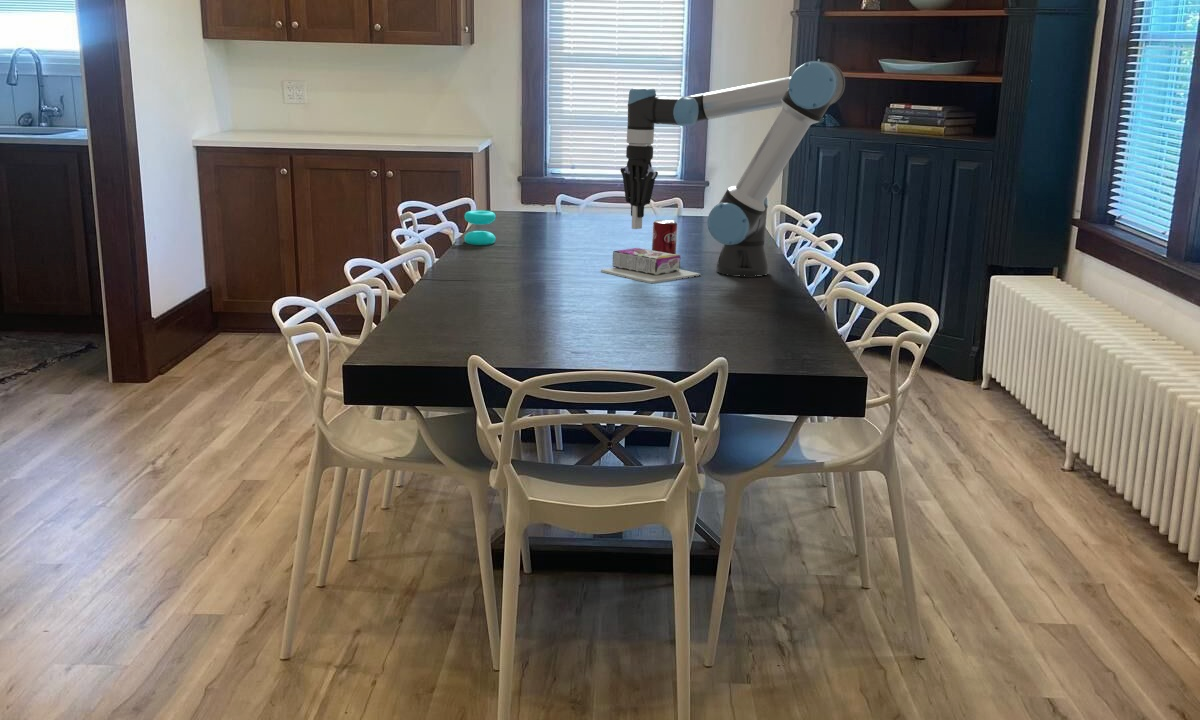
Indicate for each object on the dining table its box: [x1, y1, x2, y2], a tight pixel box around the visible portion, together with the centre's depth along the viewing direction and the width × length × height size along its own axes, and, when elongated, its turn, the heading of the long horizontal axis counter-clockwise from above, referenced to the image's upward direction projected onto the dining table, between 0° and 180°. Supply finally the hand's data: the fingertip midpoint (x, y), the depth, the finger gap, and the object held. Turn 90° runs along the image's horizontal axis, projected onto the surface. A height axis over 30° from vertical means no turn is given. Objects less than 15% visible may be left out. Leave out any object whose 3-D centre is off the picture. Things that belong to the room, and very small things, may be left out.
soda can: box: [651, 219, 678, 255], centre depth 338 cm, size 7×7×12 cm
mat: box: [600, 267, 702, 284], centre depth 319 cm, size 20×20×1 cm
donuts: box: [464, 210, 497, 246], centre depth 359 cm, size 10×10×10 cm
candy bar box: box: [612, 247, 681, 275], centre depth 321 cm, size 11×5×16 cm
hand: (636, 228), depth 320 cm, fingers closed
